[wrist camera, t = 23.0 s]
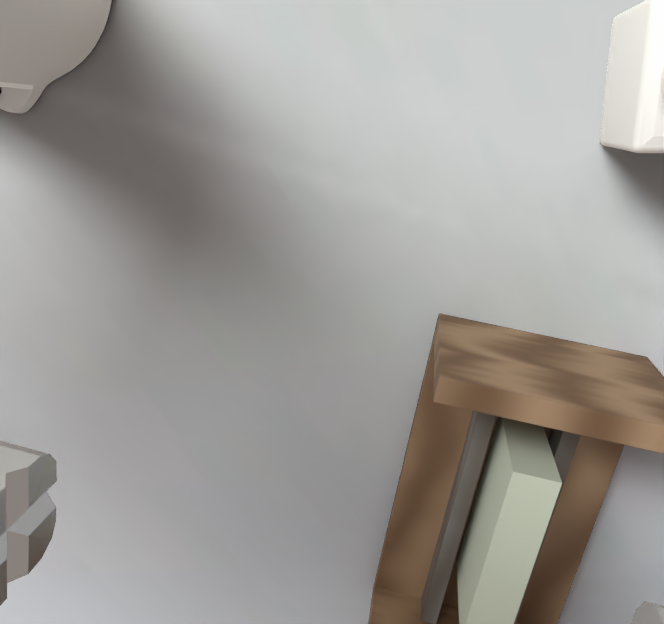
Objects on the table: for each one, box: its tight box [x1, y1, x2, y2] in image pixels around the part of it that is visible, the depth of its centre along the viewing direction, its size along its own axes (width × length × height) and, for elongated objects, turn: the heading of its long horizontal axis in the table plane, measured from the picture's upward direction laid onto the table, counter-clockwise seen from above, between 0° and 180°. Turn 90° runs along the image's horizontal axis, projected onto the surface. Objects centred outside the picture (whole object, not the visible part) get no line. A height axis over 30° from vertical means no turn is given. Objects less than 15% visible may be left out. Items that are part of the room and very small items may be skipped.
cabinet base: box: [368, 314, 664, 624], centre depth 44 cm, size 15×26×12 cm, turn 170°
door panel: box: [457, 417, 562, 624], centre depth 44 cm, size 3×14×8 cm, turn 171°
